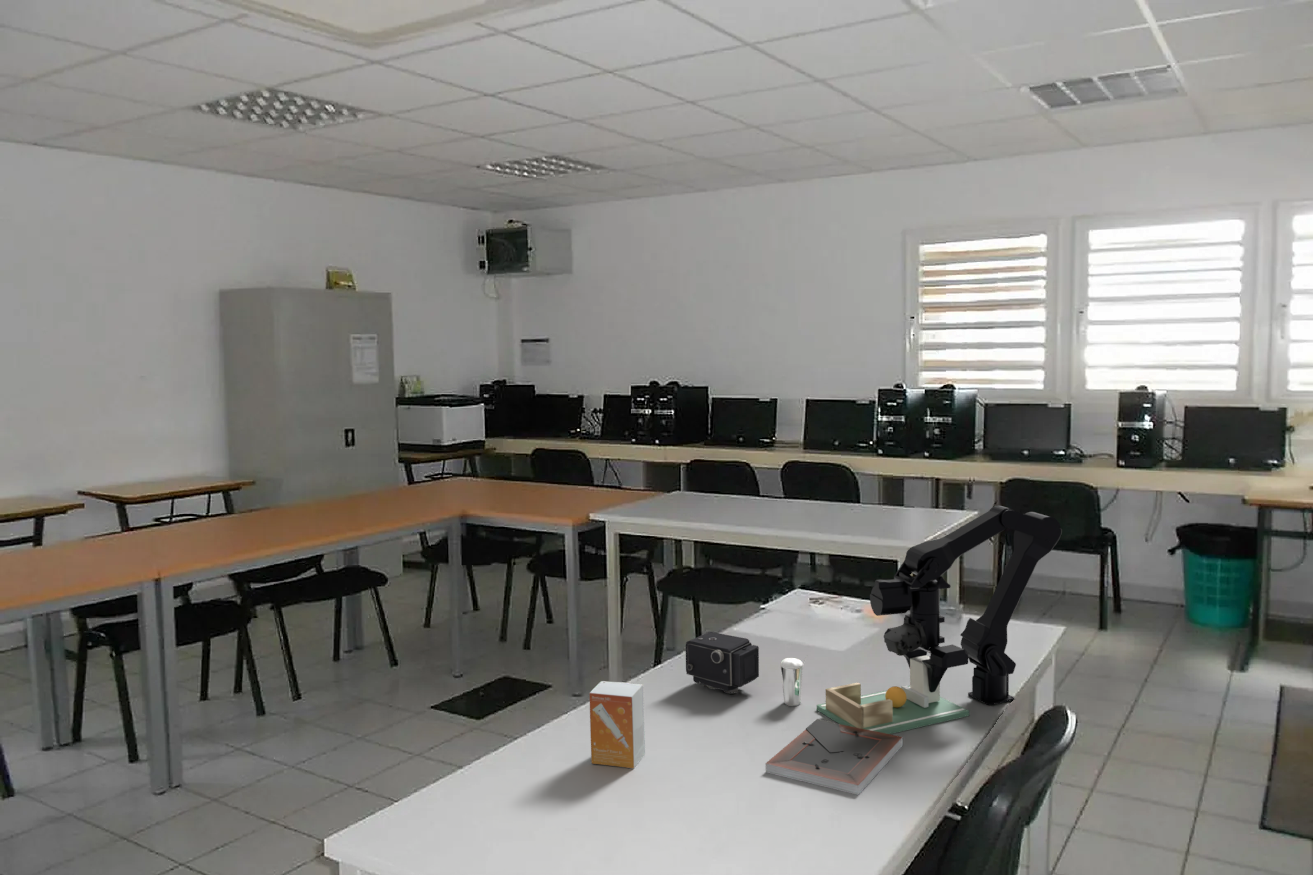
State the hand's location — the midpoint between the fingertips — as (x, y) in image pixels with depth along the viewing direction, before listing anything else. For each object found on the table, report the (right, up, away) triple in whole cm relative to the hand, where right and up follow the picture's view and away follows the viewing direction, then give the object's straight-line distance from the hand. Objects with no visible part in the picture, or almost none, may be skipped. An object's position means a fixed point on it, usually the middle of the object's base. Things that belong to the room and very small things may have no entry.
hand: (924, 688), depth 187 cm
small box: (-60, -8, -20) cm, 63 cm away
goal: (-14, -4, -6) cm, 16 cm away
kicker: (0, -2, 0) cm, 2 cm away
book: (-22, -7, -22) cm, 32 cm away
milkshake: (-25, -4, +4) cm, 26 cm away
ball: (-6, -1, -3) cm, 7 cm away
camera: (-39, -4, +13) cm, 41 cm away
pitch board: (-7, -4, -3) cm, 9 cm away
